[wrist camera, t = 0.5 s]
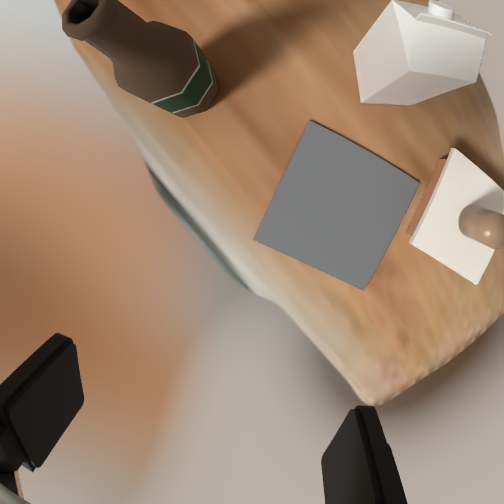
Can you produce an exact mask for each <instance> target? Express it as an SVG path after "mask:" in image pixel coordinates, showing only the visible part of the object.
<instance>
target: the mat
mask: <svg viewBox="0 0 504 504" xmlns="http://www.w3.org/2000/svg"><path fill="white" fill-rule="evenodd" d="M418 185H419V182H418V181H416V180H414V179H413V178H411V177H410V176H408V175H407V174H405V173H404V172H402V171H400V170H399V169H397V168H396V167H394V166H392V165H391V164H389V163H387V162H386V161H384V160H382V159H381V158H379V157H377V156H376V155H374V154H372V153H371V152H369V151H367V150H365V149H364V148H362V147H360V146H358V145H356V144H355V143H353V142H351V141H349V140H347V139H345V138H343V137H341V136H340V135H338V134H336V133H334V132H332V131H330V130H328V129H326V128H324V127H322V126H320V125H318V124H316V123H314V122H312V121H309V122H308V125H307V127H306V129H305V131H304V133H303V135H302V137H301V139H300V141H299V144H298V146H297V148H296V150H295V152H294V154H293V156H292V158H291V161H290V163H289V165H288V167H287V169H286V171H285V173H284V175H283V177H282V180H281V182H280V184H279V186H278V188H277V190H276V192H275V194H274V197H273V199H272V201H271V203H270V205H269V207H268V209H267V211H266V214H265V216H264V218H263V220H262V222H261V224H260V226H259V229H258V231H257V233H256V235H255V237H254V239H253V240H255V241H258V242H260V243H262V244H264V245H266V246H268V247H271V248H273V249H275V250H277V251H279V252H282V253H284V254H286V255H288V256H290V257H292V258H295V259H297V260H299V261H301V262H303V263H305V264H308V265H310V266H312V267H314V268H316V269H318V270H320V271H323V272H325V273H327V274H329V275H331V276H333V277H336V278H338V279H340V280H342V281H344V282H346V283H348V284H351V285H353V286H355V287H357V288H359V289H361V290H363V291H364V289H365V288H366V286H367V284H368V282H369V281H370V279H371V277H372V275H373V274H374V272H375V270H376V268H377V267H378V265H379V263H380V261H381V259H382V257H383V256H384V254H385V252H386V250H387V248H388V246H389V244H390V243H391V241H392V239H393V237H394V235H395V233H396V231H397V229H398V227H399V225H400V223H401V221H402V219H403V217H404V215H405V213H406V211H407V209H408V207H409V204H410V202H411V200H412V198H413V196H414V194H415V192H416V189H417V187H418Z"/></svg>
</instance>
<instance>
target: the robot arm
mask: <svg viewBox="0 0 504 504" xmlns="http://www.w3.org/2000/svg"><path fill="white" fill-rule="evenodd" d="M83 403H84V394H83V389H82V383H81V378H80V371H79V364H78V358H77V350H76V345H75V344H73V341H72V339H71V338H69V337H66V336H64V335H62V334H59V333H56V334H54V335H53V336H52V337H51V338H49V340H47V341H46V342H45V343H44V344H43V345H42V346H41V347H40V348H38V349H37V350H36V351H35V352H34V353H33V354H32V355H31V356H30V357H29V358H28V359H27V360H26V361H24V362H23V363H22V364H21V365H20V366H19V367H18V368H17V369H16V370H15V371H14V372H13V373H12V374H11V375H10V376H9V377H8V378H7V379H6V380H5V381H4V382H3V383H2V384H1V385H0V504H30V503H29V502H27V501H26V500H24V497H23V493H22V488H21V484H20V479H19V474H18V469H19V467H20V466H21V465H23V466H24V467H26V468H27V469H29V470H30V471H32V472H33V471H34V470H35V468H36V467H37V468H39V467H41V465H42V464H43V463H44V461H45V460H46V458H47V457H48V455H49V454H50V452H51V451H52V449H53V448H54V446H55V444H56V443H57V442H58V440H59V439H60V437H61V436H62V434H63V433H64V431H65V430H66V428H67V427H68V426H69V424H70V422H71V421H72V420H73V418H74V417H75V416H76V414H77V413H78V411H79V410H80V408H81V407H82V405H83ZM321 465H322V474H323V484H324V495H325V504H407V500H406V497H405V493H404V490H403V486H402V483H401V479H400V476H399V473H398V470H397V466H396V463H395V460H394V457H393V454H392V450H391V448H390V446H389V444H388V443H387V442H386V439H385V436H384V433H383V429H382V426H381V424H380V420H379V418H378V415H377V412H376V409H375V408H374V407H373V406H356V407H355V409H351V410H350V411H349V413H348V415H347V416H346V418H345V420H344V422H343V423H342V425H341V427H340V428H339V430H338V431H337V433H336V435H335V437H334V438H333V440H332V441H331V443H330V445H329V446H328V448H327V449H326V451H325V452H324V454H323V456H322V461H321Z"/></svg>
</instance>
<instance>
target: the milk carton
mask: <svg viewBox="0 0 504 504" xmlns="http://www.w3.org/2000/svg"><path fill="white" fill-rule="evenodd" d="M453 13H454V10H453V9H452V8H451V7H449V6H448V5H446V4H444V3H442V2H439V1H435V0H429V3H428V7H426V6H422V5H418V4H413V3H408V2H403V1H397V0H392V1H391V2H390V3H389V4H388V6H387V7H386V8H385V10H384V11H383V12H382V14H381V15H380V16H379V18H378V19H377V20H376V22H375V23H374V24H373V26H372V27H371V28H370V30H369V31H368V32H367V34H366V35H365V36H364V38H363V39H362V40H361V42H360V43H359V44H358V46H357V47H356V49H355V50H354V51H353V55H354V61H355V67H356V73H357V80H358V87H359V94H360V101H361V103H374V104H394V105H408V106H410V105H413V104H416V103H419V102H421V101H424V100H427V99H429V98H432V97H435V96H437V95H440V94H443V93H446V92H449V91H451V90H454V89H457V88H460V87H463V86H466V85H469V84H472V83H475V82H476V81H477V77H478V73H479V69H480V65H481V60H482V56H483V51H484V47H485V41H486V39H487V38H489V37H491V36H492V34H491V33H489V32H486V31H484V30H481V29H478V28H475V27H473V26H472V25H471V24H469V23H468V22H467V21H466V20H464V19H463V18H462V17H461V16H459V15H456V14H453Z"/></svg>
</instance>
